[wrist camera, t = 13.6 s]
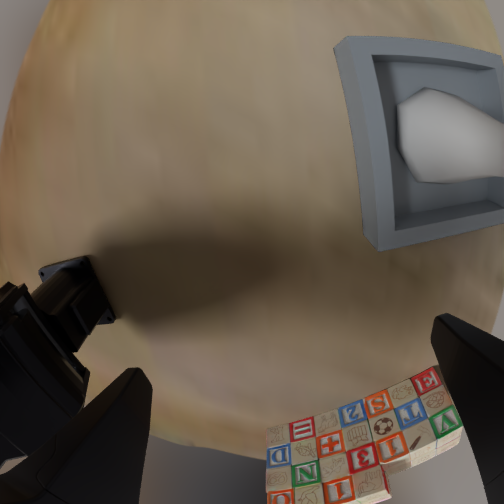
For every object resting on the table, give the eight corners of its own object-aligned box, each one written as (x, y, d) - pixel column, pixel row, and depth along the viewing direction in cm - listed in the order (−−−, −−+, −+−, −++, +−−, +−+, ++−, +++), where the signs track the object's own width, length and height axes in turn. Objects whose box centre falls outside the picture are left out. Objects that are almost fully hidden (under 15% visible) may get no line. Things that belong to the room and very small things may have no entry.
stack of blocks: (433, 363, 26) (475, 447, 15) (433, 389, 28) (466, 463, 17) (264, 428, 31) (265, 517, 19) (284, 446, 33) (288, 523, 22)
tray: (363, 234, 20) (378, 252, 17) (333, 48, 14) (346, 36, 12) (490, 209, 18) (511, 221, 16) (477, 58, 13) (501, 55, 10)
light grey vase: (457, 82, 14) (559, 82, 5) (476, 172, 17) (569, 215, 8) (379, 95, 15) (483, 83, 6) (406, 196, 18) (500, 259, 9)
